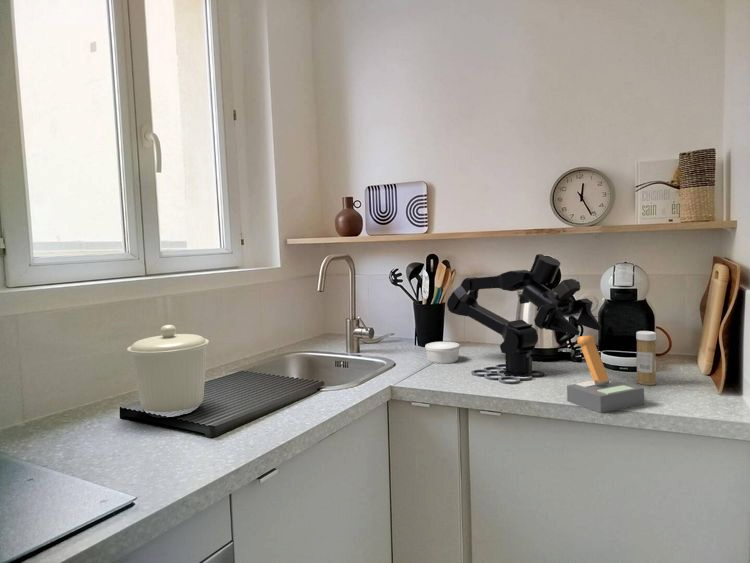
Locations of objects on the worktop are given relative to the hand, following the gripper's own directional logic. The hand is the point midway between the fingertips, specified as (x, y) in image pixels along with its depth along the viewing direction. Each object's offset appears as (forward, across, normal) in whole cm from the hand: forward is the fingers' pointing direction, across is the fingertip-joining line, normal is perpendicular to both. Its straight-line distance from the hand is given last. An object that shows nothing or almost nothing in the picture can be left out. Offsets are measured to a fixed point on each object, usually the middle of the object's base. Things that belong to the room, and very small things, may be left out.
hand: (589, 331), depth 129 cm
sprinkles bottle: (+12, +16, +11) cm, 23 cm away
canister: (-39, -88, +38) cm, 104 cm away
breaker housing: (+14, -6, +10) cm, 18 cm away
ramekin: (-37, -5, +37) cm, 52 cm away
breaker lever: (+12, -6, +6) cm, 15 cm away
